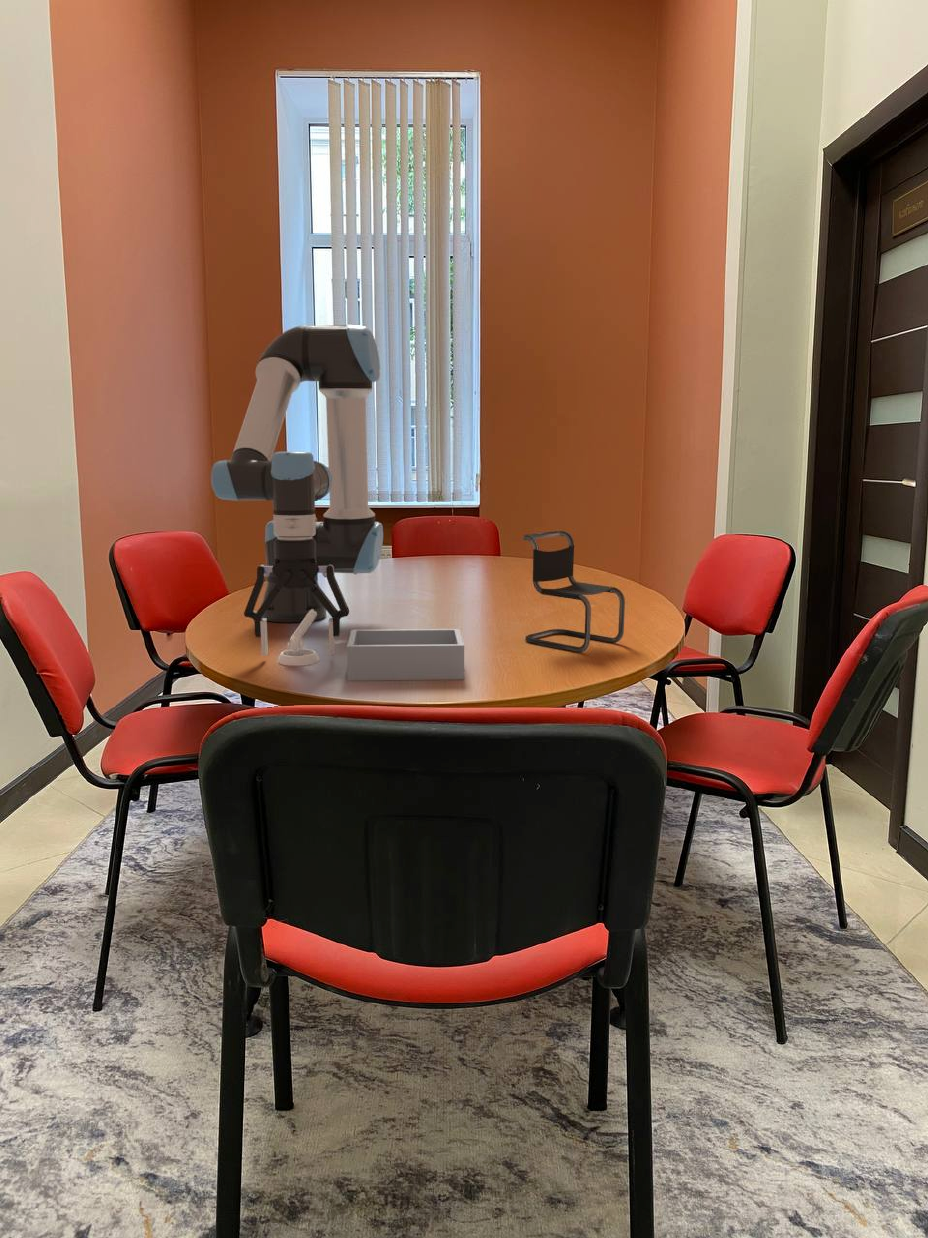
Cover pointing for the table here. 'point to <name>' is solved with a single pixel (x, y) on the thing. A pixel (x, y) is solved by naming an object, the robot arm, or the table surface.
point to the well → (405, 654)
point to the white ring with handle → (299, 646)
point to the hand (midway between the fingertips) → (298, 653)
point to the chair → (567, 590)
